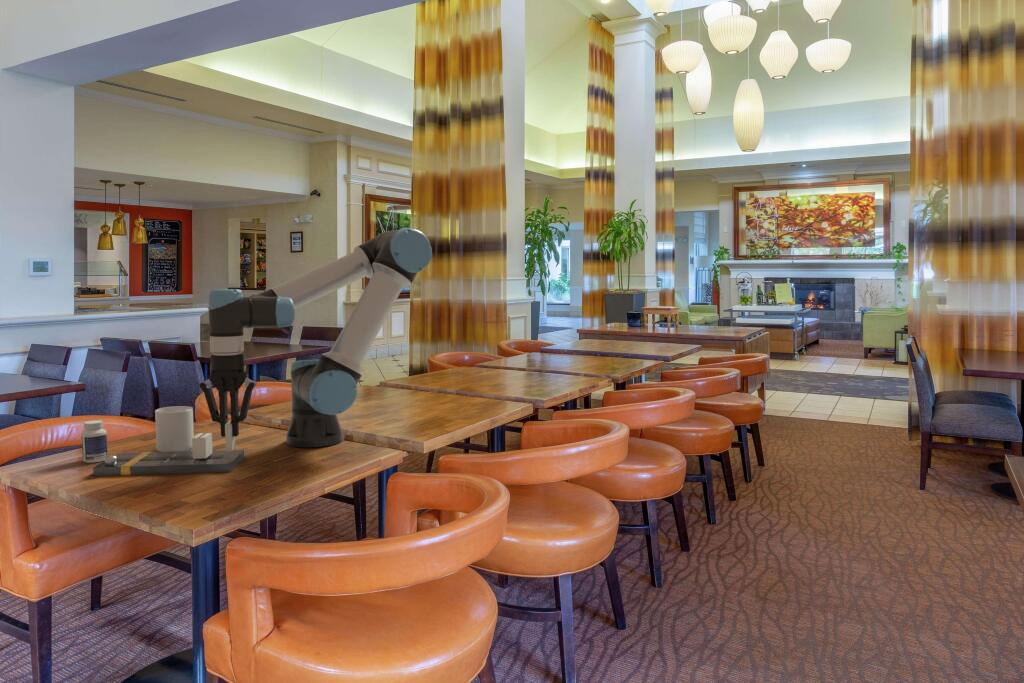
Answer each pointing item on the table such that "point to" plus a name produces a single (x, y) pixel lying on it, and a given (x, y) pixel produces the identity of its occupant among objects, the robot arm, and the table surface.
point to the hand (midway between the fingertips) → (230, 449)
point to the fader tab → (202, 445)
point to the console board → (167, 463)
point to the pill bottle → (94, 442)
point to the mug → (174, 428)
